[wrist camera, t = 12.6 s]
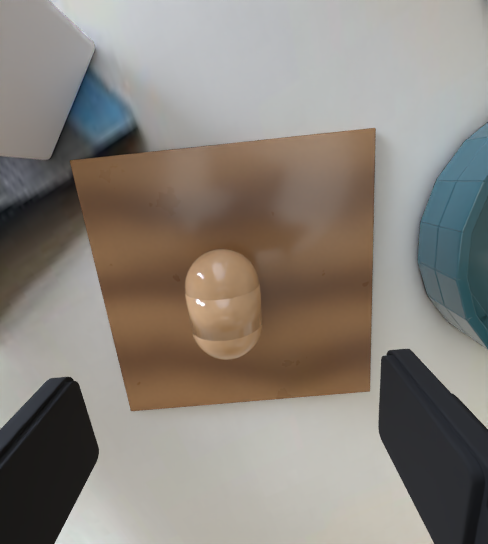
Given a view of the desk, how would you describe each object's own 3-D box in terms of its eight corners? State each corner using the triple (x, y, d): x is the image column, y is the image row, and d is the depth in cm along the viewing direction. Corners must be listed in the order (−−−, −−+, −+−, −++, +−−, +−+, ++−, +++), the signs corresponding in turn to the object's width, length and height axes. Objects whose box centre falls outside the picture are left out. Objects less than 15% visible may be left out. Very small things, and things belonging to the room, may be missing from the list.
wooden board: (72, 160, 19) (69, 160, 18) (373, 129, 18) (375, 127, 18) (132, 407, 24) (130, 411, 23) (368, 388, 23) (370, 391, 23)
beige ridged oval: (198, 242, 20) (163, 260, 16) (264, 239, 19) (243, 258, 15) (212, 335, 22) (183, 372, 18) (272, 339, 21) (255, 379, 17)
